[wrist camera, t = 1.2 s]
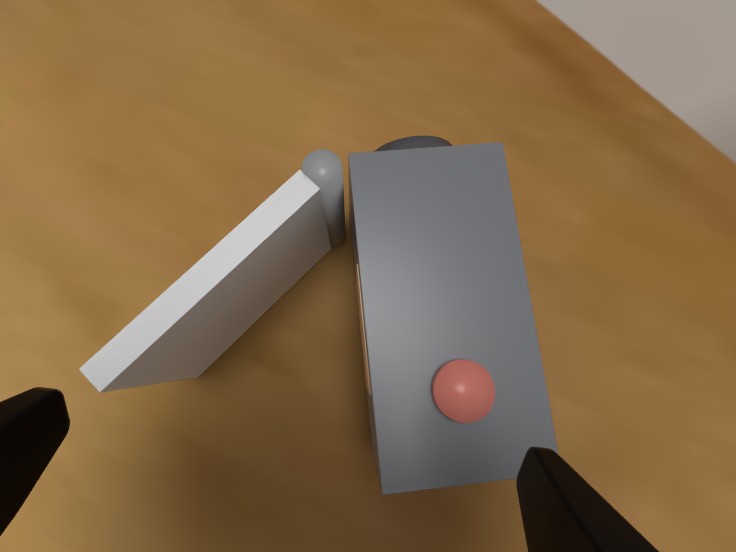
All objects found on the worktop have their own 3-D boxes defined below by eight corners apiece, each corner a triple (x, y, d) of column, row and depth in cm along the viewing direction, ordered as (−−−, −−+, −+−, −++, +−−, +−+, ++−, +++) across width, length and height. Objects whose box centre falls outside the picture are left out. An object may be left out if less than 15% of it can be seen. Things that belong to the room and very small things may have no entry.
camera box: (489, 432, 20) (571, 478, 13) (370, 445, 20) (382, 502, 12) (452, 186, 23) (503, 105, 15) (346, 195, 22) (343, 115, 15)
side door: (201, 380, 20) (104, 397, 12) (178, 355, 20) (68, 357, 12) (350, 234, 22) (350, 168, 14) (328, 213, 22) (316, 136, 14)
